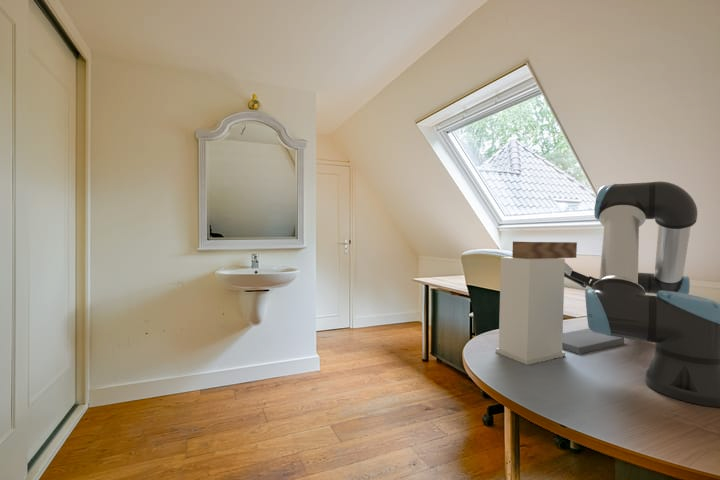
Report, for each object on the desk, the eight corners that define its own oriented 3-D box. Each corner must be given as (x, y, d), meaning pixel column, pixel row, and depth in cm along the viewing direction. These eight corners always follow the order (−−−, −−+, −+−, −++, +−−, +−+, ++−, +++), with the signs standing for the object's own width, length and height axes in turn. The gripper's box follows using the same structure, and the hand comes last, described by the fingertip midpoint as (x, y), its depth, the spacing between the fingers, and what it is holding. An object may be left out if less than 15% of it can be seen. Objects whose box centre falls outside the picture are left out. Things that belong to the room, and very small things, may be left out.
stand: (532, 345, 113) (534, 256, 112) (565, 356, 103) (567, 258, 102) (495, 352, 105) (498, 257, 105) (527, 364, 95) (530, 259, 94)
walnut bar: (561, 256, 114) (561, 242, 113) (576, 257, 109) (576, 242, 109) (512, 257, 103) (512, 241, 103) (526, 258, 98) (527, 241, 98)
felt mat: (587, 333, 127) (587, 328, 127) (624, 343, 117) (624, 337, 117) (543, 342, 116) (543, 336, 116) (578, 353, 105) (579, 347, 105)
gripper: (648, 309, 111) (618, 279, 102) (572, 296, 133) (542, 271, 125) (654, 289, 112) (625, 258, 104) (578, 279, 135) (549, 253, 126)
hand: (580, 265), depth 114 cm, fingers open, 13 cm apart
